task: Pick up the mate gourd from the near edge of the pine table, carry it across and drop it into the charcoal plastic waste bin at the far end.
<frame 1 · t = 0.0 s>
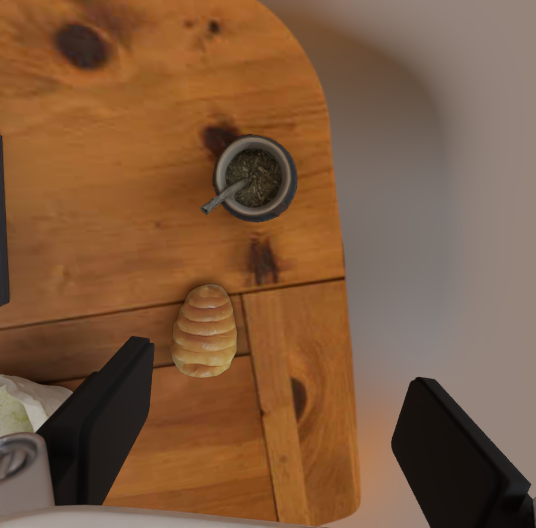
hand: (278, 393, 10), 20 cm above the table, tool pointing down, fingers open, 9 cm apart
pastry: (206, 327, 32), on the table
mate gourd: (255, 183, 28), on the table
bowl: (57, 401, 34), on the table
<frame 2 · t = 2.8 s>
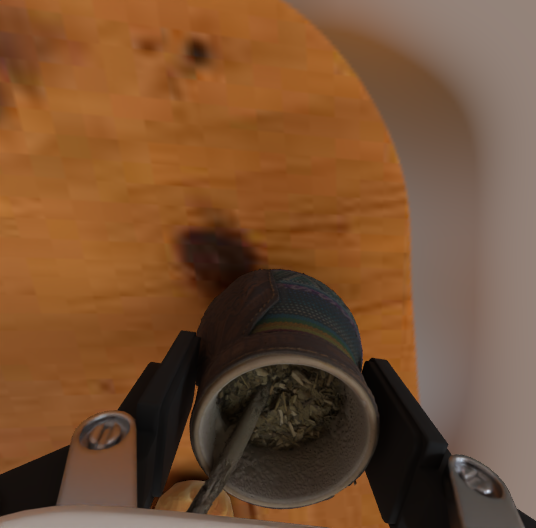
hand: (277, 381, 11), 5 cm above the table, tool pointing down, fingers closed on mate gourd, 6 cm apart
mate gourd: (274, 320, 16), on the table, touching gripper
when the fingers open (14 cm above the table, at t = 9.2 s): mate gourd drops 5 cm, resting on trash bin.
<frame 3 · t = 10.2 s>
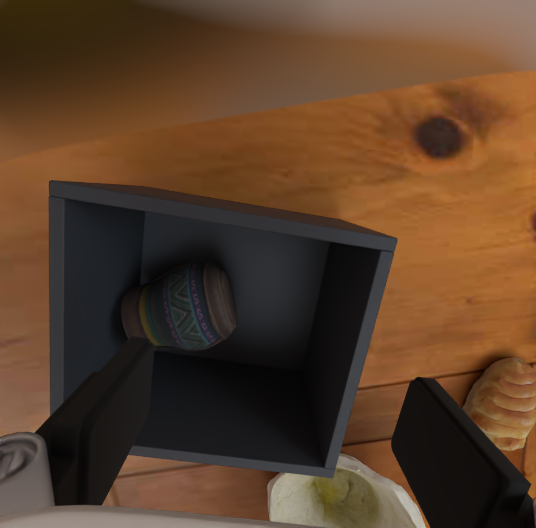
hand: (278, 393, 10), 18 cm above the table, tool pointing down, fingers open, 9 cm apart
trash bin: (231, 287, 29), on the table
pastry: (488, 395, 32), on the table
mate gourd: (233, 296, 24), point 4 cm above the table, touching trash bin
bowl: (326, 465, 34), on the table
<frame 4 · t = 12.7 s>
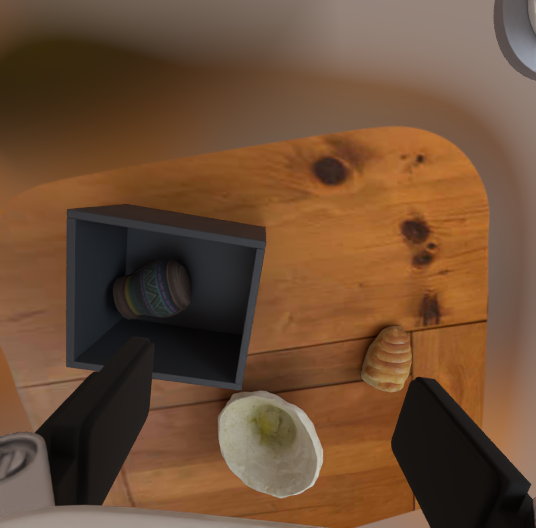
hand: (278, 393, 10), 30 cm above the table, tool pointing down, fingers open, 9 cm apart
trash bin: (190, 275, 41), on the table
pastry: (382, 355, 44), on the table
mate gourd: (188, 282, 37), point 4 cm above the table, touching trash bin
bowl: (265, 407, 46), on the table
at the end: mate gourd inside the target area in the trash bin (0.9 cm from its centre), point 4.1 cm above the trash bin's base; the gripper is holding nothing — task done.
